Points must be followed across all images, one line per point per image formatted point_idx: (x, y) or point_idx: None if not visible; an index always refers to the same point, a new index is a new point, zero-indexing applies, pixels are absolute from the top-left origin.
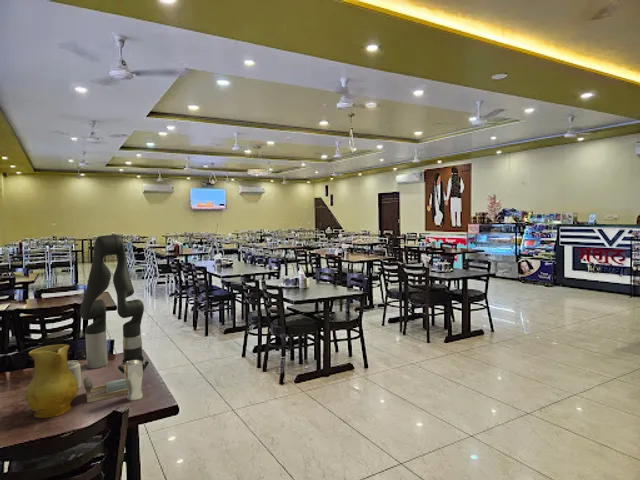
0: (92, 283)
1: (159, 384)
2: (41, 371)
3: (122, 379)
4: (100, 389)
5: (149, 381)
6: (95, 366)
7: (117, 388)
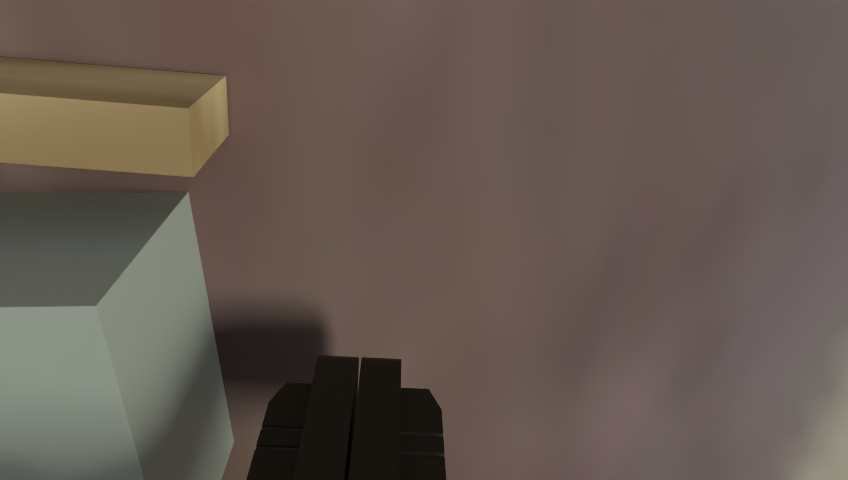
0: None
1: (781, 472)
2: None
3: (17, 346)
4: None
5: (732, 229)
6: None
7: None
